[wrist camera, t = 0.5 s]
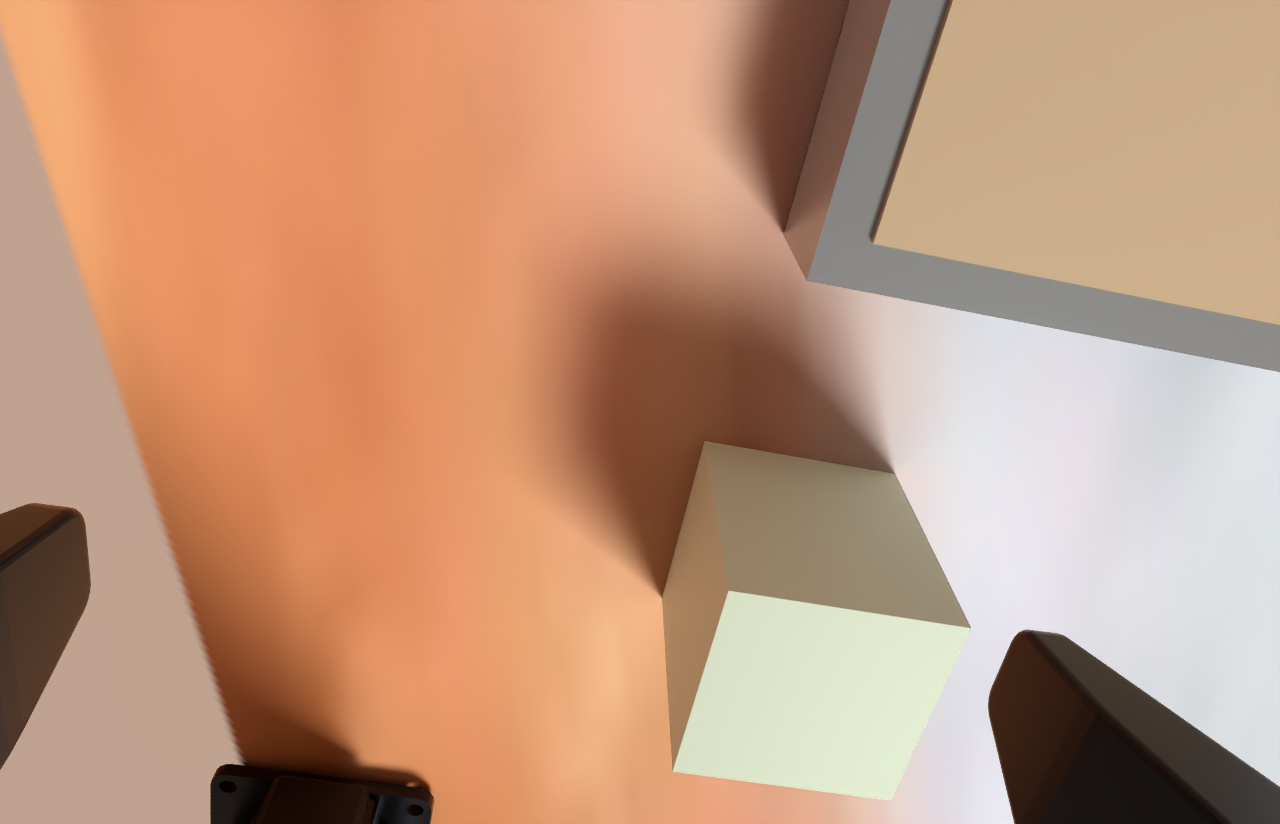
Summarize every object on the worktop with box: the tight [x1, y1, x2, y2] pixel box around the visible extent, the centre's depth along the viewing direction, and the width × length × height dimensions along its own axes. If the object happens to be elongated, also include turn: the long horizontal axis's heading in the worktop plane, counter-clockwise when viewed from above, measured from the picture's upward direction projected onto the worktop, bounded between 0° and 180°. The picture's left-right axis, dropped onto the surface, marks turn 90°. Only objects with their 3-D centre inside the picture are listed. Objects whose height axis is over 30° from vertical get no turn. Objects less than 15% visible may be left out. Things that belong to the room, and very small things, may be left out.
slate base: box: [784, 0, 1280, 372], centre depth 18 cm, size 12×12×3 cm
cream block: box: [662, 441, 971, 801], centre depth 23 cm, size 5×5×6 cm
